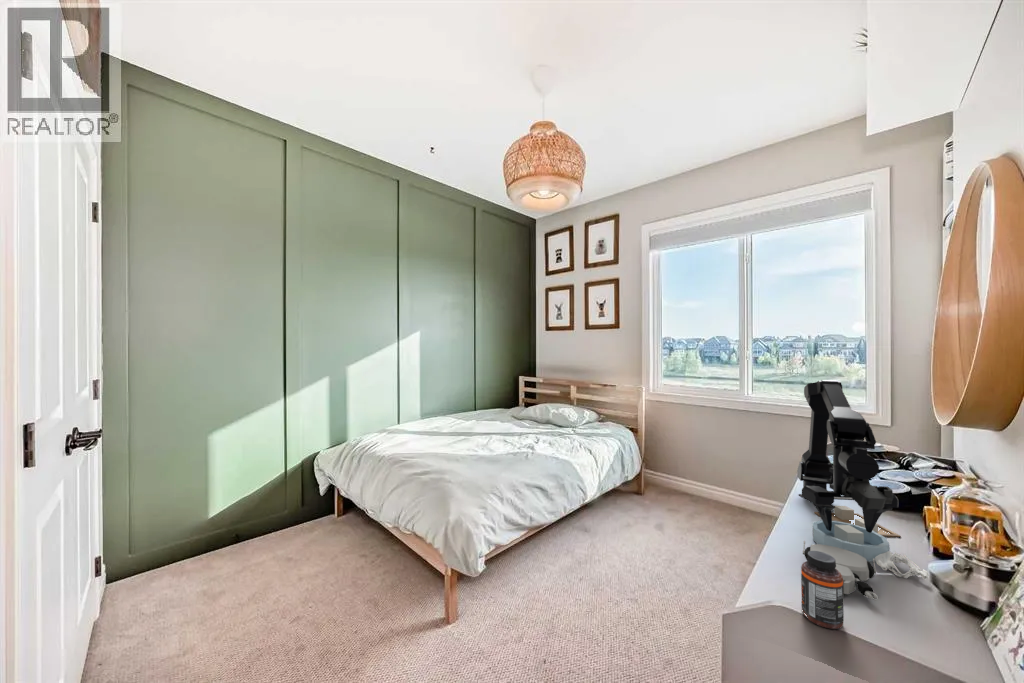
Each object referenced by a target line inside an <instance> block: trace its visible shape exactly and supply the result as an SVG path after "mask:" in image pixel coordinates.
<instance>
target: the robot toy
mask: <svg viewBox="0 0 1024 683" xmlns="http://www.w3.org/2000/svg"><path fill="white" fill-rule="evenodd" d="M805 545H806V541H805V540H804V541H803V550H802V555H804V558H805V559H806V560H807V556H808V552H809V551H820V552H824V553H827V554H829V555H831V556H832V557H834V558H835V560H836V569H837V570H838V571H839V572H840V573H841V575H842V577H843V595H850V593H854V592H855V591H856V587H857V591H858V592H860V594H862V596H864V597H866V598H868V599H871V600H873V599H874V600H878V599H879V597H878V595H877V594H876V593H875V592H874V589H873V587H872V586H871V585H870V584H869V583H867V582H866V581H868V579H872V578H873V577H874V576H875V574H876V575H877V569H876V562H875V559H874V558H873V561H872V562H873V565H872V563H871V561H867V560H866V558H864V557H862V556H861V555H859V554H856V553H854V552H851V551H848V550H845V549H841V548H838V547H833V546H828V545H821V544H817V543H815V544H814V543H813V544H811V545H810V546H807V547H806V546H805Z"/></svg>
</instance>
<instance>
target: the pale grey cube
mask: <svg viewBox="0 0 1024 683" xmlns="http://www.w3.org/2000/svg"><path fill="white" fill-rule="evenodd" d="M878 524H879V523H877V524H875V526H874V528H873V530H872V531H874V532H876V533H878ZM855 525H857V526H860V527H863V528H865V524H864V519H855Z"/></svg>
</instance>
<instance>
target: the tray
mask: <svg viewBox="0 0 1024 683" xmlns="http://www.w3.org/2000/svg"><path fill="white" fill-rule="evenodd" d="M813 514H815V515H816V516H818V517H820V515H819V513H818V511H813ZM854 515H857V516H859V517H861V518H862V519H864V517H863V515H861V514H860V513H857V512H856V513H855V512H854ZM832 521H839V522H844V523H849V524H851V521H849V520H842V519H840V518H838V517H837V516H834V511H832ZM853 524H854V523H853ZM876 524H878V527H879V528H881V529H880V530H879V531H878V534H880V535H882V536H883V537H885V538H895V537H897V538H898V537H901V538H902V536H901V535H900V534H898V533H896V532H894V531H892V530H890V529H888V528H887V527H884V526H883V525H880V524H879V523H877V522H876ZM883 531H884V532H883ZM885 532H886V533H885ZM888 532H889V533H890V534H889V533H888ZM887 533H888V534H887ZM897 538H896V539H897Z"/></svg>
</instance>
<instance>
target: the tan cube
mask: <svg viewBox="0 0 1024 683" xmlns="http://www.w3.org/2000/svg"><path fill="white" fill-rule="evenodd" d="M834 506H835V508H834V509H833V513H834V515H835V516H837V517H838V518H840V519H842V520H854V513H855V510H854V509H852V508H850V507H848V506H846V505H834Z"/></svg>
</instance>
